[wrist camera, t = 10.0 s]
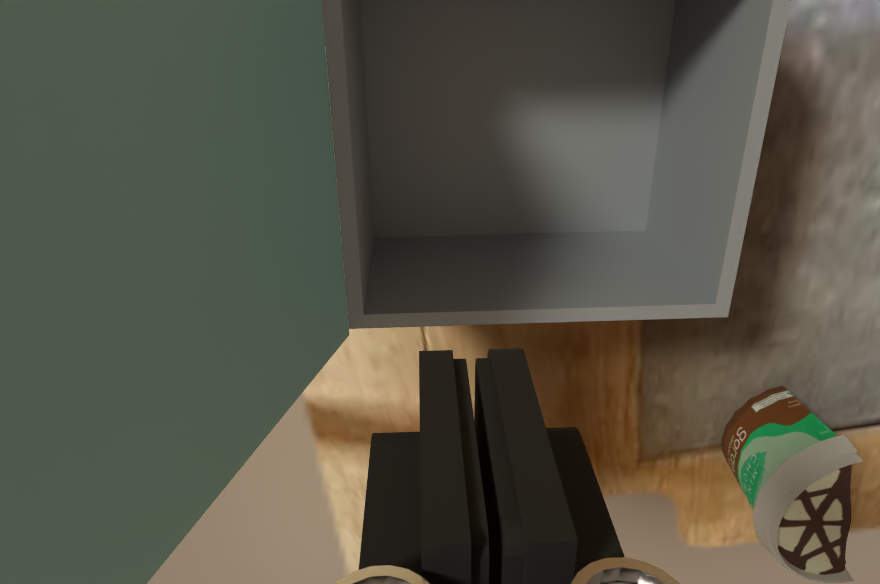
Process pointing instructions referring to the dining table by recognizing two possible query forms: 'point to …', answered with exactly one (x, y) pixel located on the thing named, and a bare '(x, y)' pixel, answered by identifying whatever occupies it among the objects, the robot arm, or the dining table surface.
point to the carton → (546, 155)
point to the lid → (154, 266)
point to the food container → (794, 482)
